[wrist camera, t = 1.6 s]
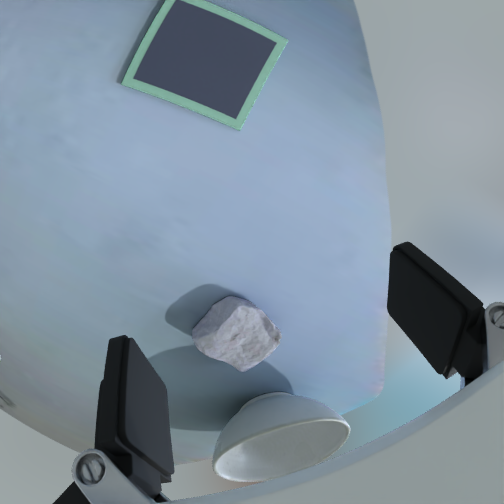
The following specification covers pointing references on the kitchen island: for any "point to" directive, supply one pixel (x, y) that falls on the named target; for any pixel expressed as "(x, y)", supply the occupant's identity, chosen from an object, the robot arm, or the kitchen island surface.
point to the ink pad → (205, 60)
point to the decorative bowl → (277, 437)
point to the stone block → (236, 333)
